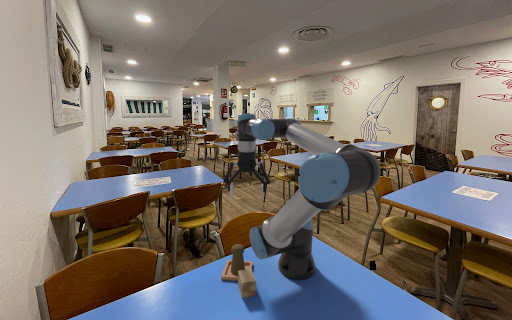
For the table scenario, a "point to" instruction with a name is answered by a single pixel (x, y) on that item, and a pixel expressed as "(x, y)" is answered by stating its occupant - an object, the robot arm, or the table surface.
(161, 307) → the table surface
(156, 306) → the table surface
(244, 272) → the oak block
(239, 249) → the cork
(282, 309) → the table surface
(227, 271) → the terracotta dish
